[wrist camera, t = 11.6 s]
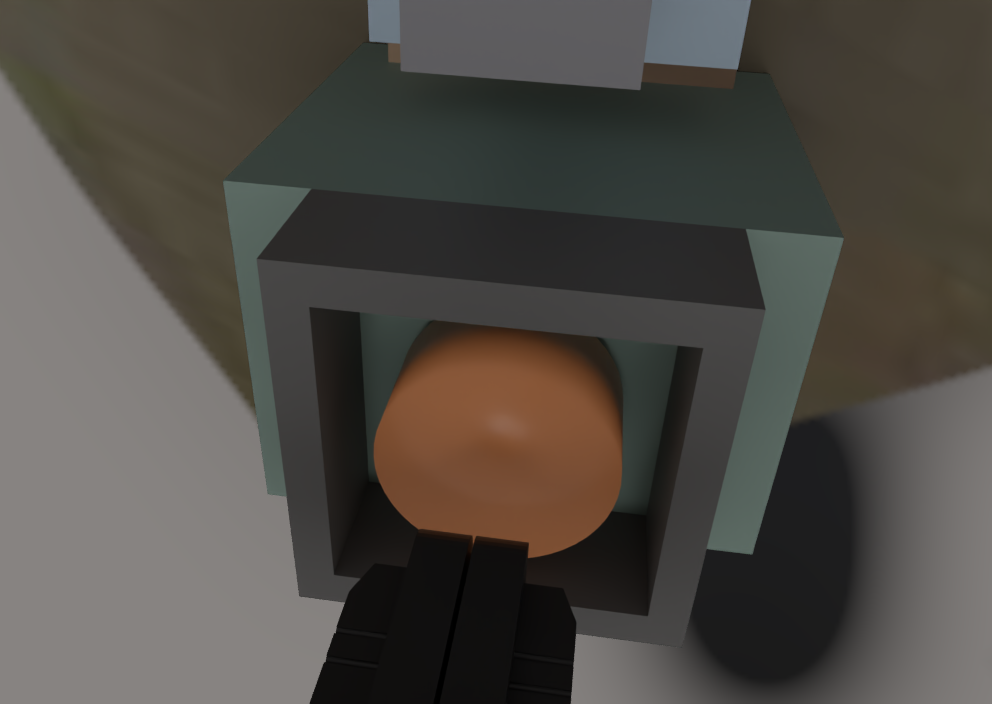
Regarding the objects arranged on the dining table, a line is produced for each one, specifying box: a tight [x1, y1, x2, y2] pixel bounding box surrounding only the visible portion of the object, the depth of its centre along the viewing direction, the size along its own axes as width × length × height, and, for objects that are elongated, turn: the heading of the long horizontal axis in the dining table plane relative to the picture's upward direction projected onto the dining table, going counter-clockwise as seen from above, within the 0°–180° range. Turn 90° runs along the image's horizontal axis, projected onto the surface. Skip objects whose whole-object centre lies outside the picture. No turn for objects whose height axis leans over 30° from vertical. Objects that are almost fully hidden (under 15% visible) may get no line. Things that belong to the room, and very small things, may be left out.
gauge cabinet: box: [223, 43, 844, 648], centre depth 19 cm, size 7×10×12 cm
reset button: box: [374, 320, 623, 558], centre depth 15 cm, size 4×4×2 cm
